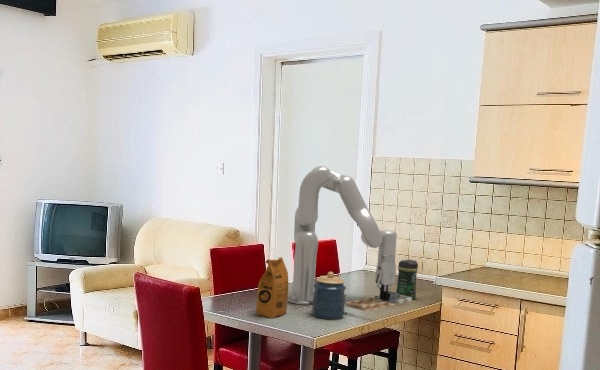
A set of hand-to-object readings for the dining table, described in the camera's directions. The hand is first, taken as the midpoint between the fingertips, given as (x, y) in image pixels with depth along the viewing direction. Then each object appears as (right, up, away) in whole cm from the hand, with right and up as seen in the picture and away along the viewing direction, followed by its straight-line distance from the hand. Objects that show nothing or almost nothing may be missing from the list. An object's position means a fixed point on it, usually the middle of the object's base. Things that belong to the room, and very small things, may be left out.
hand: (383, 299), depth 248 cm
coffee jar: (+13, -3, +18) cm, 22 cm away
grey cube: (+5, -2, +5) cm, 7 cm away
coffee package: (-49, 0, -29) cm, 56 cm away
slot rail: (-2, -2, -2) cm, 4 cm away
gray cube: (+2, -2, +2) cm, 3 cm away
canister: (-26, -2, -25) cm, 36 cm away
